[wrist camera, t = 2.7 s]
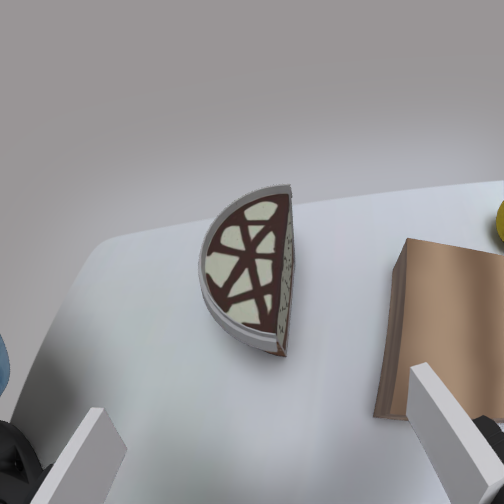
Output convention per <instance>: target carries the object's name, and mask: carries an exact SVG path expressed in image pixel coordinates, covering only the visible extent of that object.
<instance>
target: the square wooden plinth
mask: <svg viewBox="0 0 504 504" xmlns="http://www.w3.org/2000/svg"><path fill="white" fill-rule="evenodd" d="M425 362H427V363H428V365H429V366H430V367H431V368H432V370H433V371H434V372H435V373H436V375H437V376H438V377H439V378H440V380H441V381H442V382H443V383H444V385H445V386H446V387H447V388H448V390H449V391H450V392H451V394H452V395H453V396H454V398H455V399H456V400H457V401H458V403H459V404H460V405H461V407H462V408H463V409H464V411H465V412H466V413H467V415H468V416H469V417H470V419H471V420H474V419H476V418H478V417H480V416H482V415H485V416H487V417H488V418H490V419H492V420H494V421H495V422H496V423H504V256H502V255H497V254H492V253H487V252H482V251H477V250H472V249H467V248H461V247H456V246H450V245H445V244H439V243H434V242H428V241H422V240H416V239H411V238H407V239H406V242H405V244H404V246H403V249H402V251H401V253H400V255H399V258H398V260H397V262H396V264H395V266H394V269H393V274H392V288H391V300H390V310H389V320H388V329H387V337H386V344H385V351H384V358H383V365H382V371H381V377H380V383H379V388H378V394H377V399H376V404H375V409H374V414H373V417H376V418H385V419H394V420H405V421H409V420H408V418H407V416H406V409H407V400H408V389H409V376H410V367H412V366H415V365H418V364H422V363H425Z"/></svg>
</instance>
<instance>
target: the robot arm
mask: <svg viewBox="0 0 504 504" xmlns="http://www.w3.org/2000/svg"><path fill="white" fill-rule="evenodd" d="M9 376H10V364H9V357H8V353H7V350H6V347H5V344H4V341H3V339H2V337H1V335H0V396H1V395H2V393H3V391H4V389H5V388H6V386H7V384H8V381H9ZM406 416H407V418H408V420H409V422H410V423H411V425H412V427H413V429H414V431H415V433H416V435H417V436H418V438H419V440H420V442H421V444H422V446H423V448H424V450H425V452H426V454H427V456H428V457H429V459H430V461H431V463H432V465H433V467H434V469H435V471H436V473H437V475H438V477H439V479H440V481H441V483H442V485H443V487H444V489H445V491H446V493H447V495H448V498H449V500H450V502H451V504H504V432H502V431H501V429H500V427H499V426H498V425H497V423H496V422H495V421H494V420H492V419H490V418H488V417H487V416H485V415H482V416H480V417H478V418H476V419H474V420H471V419H470V417H469V416H468V415H467V413H466V412H465V411H464V409H463V408H462V407H461V405H460V404H459V403H458V401H457V400H456V399H455V398H454V396H453V395H452V394H451V392H450V391H449V390H448V388H447V387H446V386H445V385H444V383H443V382H442V381H441V380H440V378H439V377H438V376H437V375H436V373H435V372H434V371H433V370H432V368H431V367H430V366H429V365H428V363H427V362H425V363H422V364H418V365H415V366H412V367H410V376H409V389H408V400H407V409H406ZM126 452H127V447H126V446H125V444H124V442H123V440H122V439H121V437H120V435H119V434H118V432H117V430H116V428H115V427H114V425H113V423H112V421H111V419H110V417H109V416H108V414H107V412H106V410H105V408H93V407H91V409H90V410H89V412H88V413H87V415H86V416H85V418H84V419H83V421H82V422H81V424H80V425H79V427H78V428H77V430H76V431H75V433H74V434H73V436H72V437H71V439H70V440H69V442H68V444H67V445H66V447H65V448H64V450H63V451H62V453H61V454H60V456H59V458H58V459H57V461H56V462H55V464H50V465H49V466H48V467H47V468H45V469H44V470H43V471H42V469H41V466H40V464H39V461H38V459H37V457H36V454H35V452H34V451H33V449H32V447H31V445H30V444H29V442H28V441H27V439H26V438H25V437H24V435H23V434H22V433H21V432H20V431H19V430H18V429H17V428H16V427H14V426H13V425H11V424H10V423H8V422H5V421H1V420H0V504H104V502H105V499H106V497H107V495H108V492H109V490H110V488H111V485H112V483H113V481H114V479H115V476H116V474H117V472H118V470H119V467H120V465H121V463H122V461H123V458H124V456H125V454H126Z"/></svg>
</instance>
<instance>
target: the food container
mask: <svg viewBox="0 0 504 504" xmlns="http://www.w3.org/2000/svg"><path fill="white" fill-rule="evenodd" d="M291 198H292V192H291V187H290V184H282V185H274V186H268V187H264V188H261V189H257V190H255V191H252V192H250V193H247V194H245V195H243V196H242V197H240V198H238V199H237V200H235V201H234V202H232V203H231V204H230V205H228V206H227V207H226V208H225V209H224V210H223V211H222V212H221V213H220V214H219V215H218V216H217V217H216V218H215V220H214V221H213V223H212V224H211V225H210V227H209V229H208V231H207V233H206V235H205V237H204V240H203V243H202V246H201V250H200V255H199V262H198V273H199V280H200V286H201V291H202V295H203V299H204V301H205V303H206V306H207V308H208V310H209V312H210V313H211V315H212V316H213V318H214V319H215V321H216V322H217V323H218V324H219V325H220V326H221V327H222V328H223V329H224V330H225V331H226V332H227V333H229V334H230V335H231V336H233V337H234V338H235V339H237V340H239V341H241V342H243V343H245V344H247V345H249V346H252V347H255V348H258V349H261V350H263V351H265V352H267V353H270V354H273V355H276V356H283V357H286V355H287V345H288V336H289V326H290V315H291V305H292V294H293V282H294V270H295V250H294V232H293V216H292V201H291Z"/></svg>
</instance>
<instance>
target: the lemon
mask: <svg viewBox="0 0 504 504" xmlns="http://www.w3.org/2000/svg"><path fill="white" fill-rule="evenodd" d="M496 228H497V232H498V234H499V236H500V238H501V239H502V241H503V242H504V201H503V202H502V204H501V205H500V207H499V209H498V212H497V217H496Z"/></svg>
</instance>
